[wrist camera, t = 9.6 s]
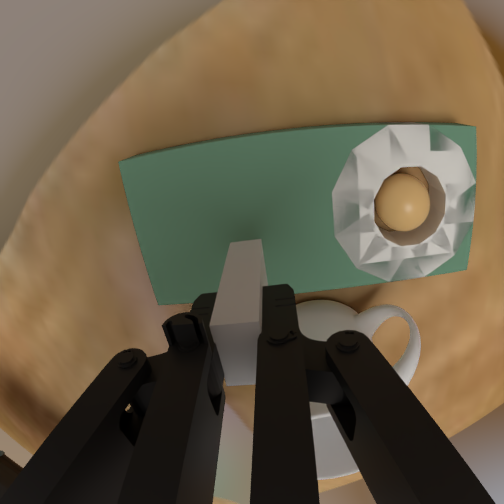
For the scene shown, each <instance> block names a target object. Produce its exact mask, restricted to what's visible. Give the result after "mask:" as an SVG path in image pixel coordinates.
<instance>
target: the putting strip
mask: <svg viewBox="0 0 504 504" xmlns="http://www.w3.org/2000/svg"><path fill="white" fill-rule="evenodd" d="M476 161H477V149H476V127H475V126H470V125H464V124H458V123H435V122H381V123H355V124H337V125H323V126H311V127H301V128H291V129H282V130H273V131H265V132H257V133H250V134H243V135H236V136H230V137H224V138H218V139H212V140H206V141H201V142H195V143H190V144H185V145H180V146H175V147H170V148H165V149H161V150H156V151H152V152H147V153H143V154H139V155H135V156H132V157H130V158H127V159H124V160H122V161H119V162H118V163H119V167H120V172H121V176H122V180H123V185H124V189H125V193H126V197H127V201H128V205H129V209H130V212H131V216H132V220H133V224H134V227H135V231H136V235H137V238H138V242H139V245H140V248H141V252H142V255H143V259H144V262H145V265H146V268H147V272H148V275H149V278H150V281H151V284H152V287H153V290H154V293H155V296H156V299H157V302H158V305H170V304H185V303H194V301H195V300H196V299H197V298H198V297H199V296H200V295H201V294H203V293H213V292H218V289H219V285H220V281H221V277H222V273H223V269H224V265H225V261H226V257H227V253H228V249H229V245H230V243H231V242H239V241H247V240H255V239H261V241H262V247H263V254H264V261H265V268H266V275H267V282H268V286H270V285H279V284H288V285H289V286H290V287H292V288H293V289H294V294H297V293H306V292H315V291H323V290H332V289H340V288H348V287H356V286H363V285H371V284H378V283H386V282H393V281H400V280H406V279H413V278H420V277H426V276H433V275H439V274H445V273H451V272H457V271H463V270H467V265H468V259H469V252H470V245H471V237H472V228H473V219H474V207H475V192H476ZM401 167H419V168H420V169H421V170H422V172H423V174H424V176H425V178H426V180H427V182H428V184H429V197H430V210H429V213H428V216H427V218H426V219H425V221H424V222H423V223H422V224H421V225H420V226H419V227H417V228H415V229H413V230H410V231H390V232H388V231H386V230H384V229H382V228H380V227H378V226H377V225H376V223H375V222H374V199H375V197H376V195H377V193H378V191H379V189H380V187H381V185H382V183H383V180H384V179H385V178H387V177H388V176H390V175H391V174H393V173H394V172H395V171H397V170H398V169H400V168H401Z"/></svg>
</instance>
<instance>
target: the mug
mask: <svg viewBox="0 0 504 504" xmlns="http://www.w3.org/2000/svg"><path fill="white" fill-rule="evenodd" d="M296 309H297V316H298V323H299V329H300V331H301V333H302V334H303V335H304V336H306V337H307V338H310V339H313V340H318V341H327V339H328V338H329V337H330V336H331V335H332V334H334V333H336V332H338V331H343V330H356V331H358V332H361V333H363V334H365V335H366V336H367V337H368V338H369V339H370V340H371V342H372V343H373V341H372V336H373V334H374V333H375V331H376V330H377V328H378V327H379V326H380V325H381V324H382V323H383V322H384V321H385V320H386V319H388V318H390V317H393V316H399V317H402V318H404V319H405V320H406V321H407V322H408V324H409V327H410V339H409V343H408V346H407V349H406V350H405V352H404V354H403V355H402V357H401V358H400V359H399V361H398V362H397V363H396V364H395V365H394V366H393V369H394V370H395V371H396V372H397V374H398V375H399V376H400V377H401V379H402V380H403V381H404V382H405V384H406V385H407V386H408V384H409V382H410V380H411V378H412V377H413V375H414V372H415V370H416V367H417V364H418V361H419V357H420V349H421V341H420V334H419V330H418V327H417V325H416V323H415V321H414V320H413V318H412V317H411V316H410V315H409V314H408V313H407V312H406V311H405V310H404V309H402V308H400V307H398V306H395V305H387V304H386V305H379V306H375V307H372V308H369V309H367V310H365V311H363V312H361V313H359V314H358V313H357V312H356V311H355V310H353V309H352V308H350V307H348V306H346V305H344V304H342V303H339V302H335V301H330V300H311V301H306V302H302V303H299V304H297V305H296ZM309 403H310V412H311V421H312V430H313V439H314V449H315V459H316V469H317V480H323V479H331V478H337V477H342V476H346V475H350V474H353V473H356V472H359V469H358V467H357V465H356V463H355V461H354V459H353V457H352V455H351V453H350V451H349V449H348V447H347V445H346V443H345V441H344V439H343V438H342V436H341V434H340V432H339V430H338V428H337V426H336V424H335V422H334V420H333V418H332V416H331V414H330V412H329V410H328V408H327V406H326V404H323V403H316V402H309Z"/></svg>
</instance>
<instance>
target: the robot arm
mask: <svg viewBox="0 0 504 504" xmlns="http://www.w3.org/2000/svg"><path fill="white" fill-rule="evenodd" d="M191 309H192V310H191V311H190V312H185V313H180V314H177V315H174V316H172V317H170V318H169V319H167V320H166V321H165V322H164V323H163V325H162V328H163V330H164V333H165V336H166V338H167V341H168V344H169V348H168V351H167V352H166V353H163V354H159V355H155V356H151V357H147V356H146V354H145V353H144V351H143V350H140V349H135V348H131V349H127V350H123V351H121V352H120V353H118V354H117V355H115V356H114V357H113V358H112V359H111V360H110V362H109V363H108V364H107V365H106V366H105V368H104V369H103V370H102V371H101V372H100V374H99V375H98V376H97V377H96V378H95V380H94V381H93V382H92V383H91V384H90V386H89V387H88V388H87V389H86V390H85V392H84V393H83V394H82V395H81V396H80V398H79V399H78V400H77V401H76V403H75V404H74V405H73V406H72V407H71V409H70V410H69V411H68V412H67V414H66V415H65V416H64V417H63V419H62V420H61V421H60V422H59V424H58V425H57V426H56V427H55V429H54V430H53V431H52V432H51V434H50V435H49V436H48V437H47V439H46V440H45V441H44V442H43V444H42V445H41V446H40V448H39V449H38V450H37V451H36V453H35V454H34V455H33V457H32V458H31V459H30V460H29V462H28V463H27V464H26V466H25V467H24V468H22V467H20V466H19V465H18V464H17V463H15V462H14V461H13V460H11V459H10V458H9V457H7V456H6V455H5V453H4V452H3V451H0V504H212V502H213V493H214V485H215V477H216V469H217V461H218V453H219V445H220V437H221V436H220V435H221V428H222V419H223V412H224V405H225V392H224V389H223V380H224V378H225V382H226V385H227V386H237V385H253V384H256V388H255V410H254V432H253V454H252V473H251V494H250V504H320V503H319V491H318V480H317V469H316V459H315V449H314V439H313V430H312V421H311V412H310V403H309V402H316V403H323V404H326V406H327V408H328V410H329V412H330V414H331V416H332V418H333V420H334V422H335V424H336V426H337V428H338V430H339V432H340V434H341V436H342V438H343V439H344V441H345V443H346V445H347V447H348V449H349V451H350V453H351V455H352V457H353V459H354V461H355V463H356V465H357V467H358V469H359V471H360V472H361V474H362V476H363V478H364V480H365V482H366V484H367V486H368V488H369V490H370V492H371V494H372V495H373V498H374V500H375V501H376V503H377V504H495V502H494V501H493V500H492V498H491V497H490V495H489V494H488V492H487V491H486V490H485V488H484V487H483V486H482V484H481V483H480V481H479V480H478V479H477V477H476V476H475V474H474V473H473V472H472V470H471V469H470V468H469V466H468V465H467V464H466V462H465V461H464V459H463V458H462V457H461V455H460V454H459V453H458V451H457V450H456V449H455V447H454V446H453V445H452V443H451V442H450V441H449V439H448V438H447V437H446V435H445V434H444V433H443V431H442V430H441V429H440V427H439V426H438V425H437V423H436V422H435V421H434V420H433V418H432V417H431V416H430V414H429V413H428V412H427V410H426V409H425V408H424V407H423V405H422V404H421V403H420V401H419V400H418V399H417V398H416V396H415V395H414V394H413V393H412V391H411V390H410V389H409V387H408V386H407V385H406V384H405V382H404V381H403V380H402V379H401V377H400V376H399V375H398V374H397V372H396V371H395V370H394V369H393V367H392V366H391V365H390V364H389V362H388V361H387V360H386V359H385V357H384V356H383V355H382V354H381V353H380V351H379V350H378V349H377V348H376V346H375V345H374V344H373V343H372V342H371V340H370V339H369V338H368V337H367V336H366V335H365V334H363V333H361V332H358V331H356V330H343V331H338V332H336V333H334V334H332V335H331V336H330V337H329V338H328V339H327V341H318V340H313V339H310V338H307V337H306V336H304V335H303V334H302V333H301V331H300V329H299V323H298V316H297V309H296V303H295V296H294V289H293V288H292V287H290V286H289V285H288V284H279V285H270V286H268V282H267V275H266V268H265V261H264V254H263V247H262V241H261V239H255V240H247V241H239V242H231V243H230V245H229V249H228V253H227V257H226V261H225V265H224V269H223V273H222V277H221V281H220V285H219V289H218V292H213V293H203V294H201V295H200V296H199V297H198V298H197V299H196V300H195V301H194V303H193V305H192V308H191ZM129 403H130V405H131V407H130V409H129V410H127V411H125V409H126V407H127V406H128V404H129Z"/></svg>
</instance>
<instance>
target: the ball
mask: <svg viewBox="0 0 504 504" xmlns="http://www.w3.org/2000/svg"><path fill="white" fill-rule="evenodd" d="M375 207H376V211H377V214H378V216H379V217H380V219H381V220H382V222H383V223H384V224H385V225H387V226H388V227H390V228H391V229H394V230H397V231H410V230H413V229H415V228H417V227H419V226H420V225H421V224H422V223H423V222H424V221H425V219H426V218H427V216H428V213H429V210H430V197H429V194H428V191H427V189H426V187H425V186H424V184H423V183H422V182H421V181H420V180H419V179H417V178H416V177H414V176H412V175H409V174H404V173H399V174H394V175H391V176H389V177H388V178H386V179H385V180H384V181H383V183H382V185H381V187H380V189H379V191H378V193H377V195H376V197H375Z"/></svg>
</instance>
